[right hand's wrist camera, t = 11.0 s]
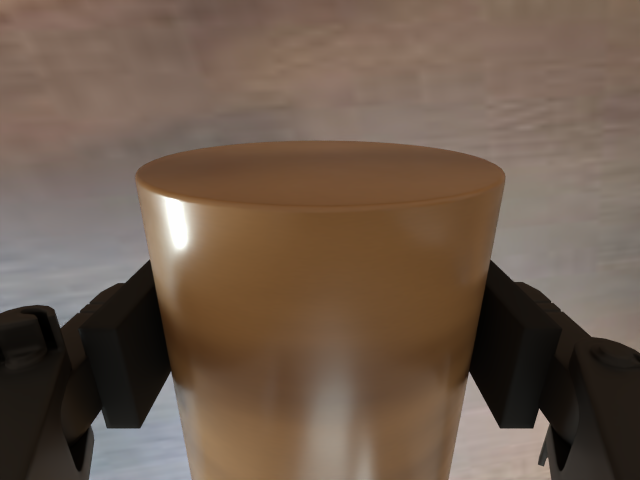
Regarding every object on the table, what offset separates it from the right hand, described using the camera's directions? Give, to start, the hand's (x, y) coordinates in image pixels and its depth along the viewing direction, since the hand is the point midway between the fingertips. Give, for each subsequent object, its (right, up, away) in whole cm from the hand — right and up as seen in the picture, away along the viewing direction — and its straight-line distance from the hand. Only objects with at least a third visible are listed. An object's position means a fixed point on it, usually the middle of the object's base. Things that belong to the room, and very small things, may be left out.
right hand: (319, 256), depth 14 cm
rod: (0, -7, +3) cm, 8 cm away
